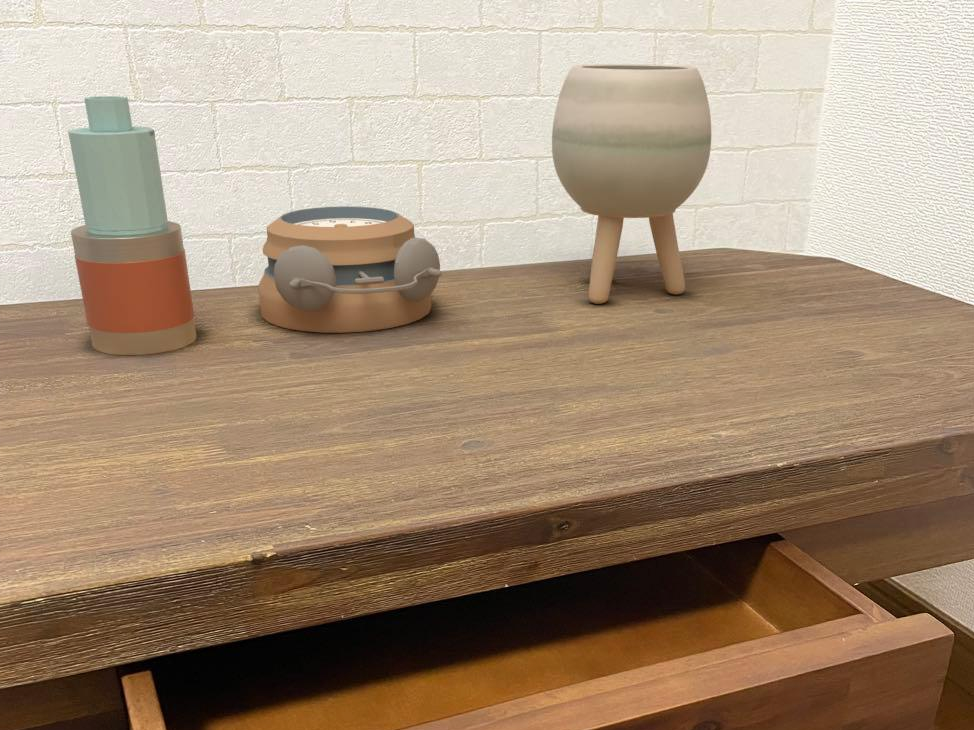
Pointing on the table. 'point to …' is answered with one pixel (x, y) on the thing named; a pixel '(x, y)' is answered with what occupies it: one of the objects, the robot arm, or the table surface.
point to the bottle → (117, 171)
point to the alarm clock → (346, 271)
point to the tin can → (135, 291)
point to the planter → (632, 155)
